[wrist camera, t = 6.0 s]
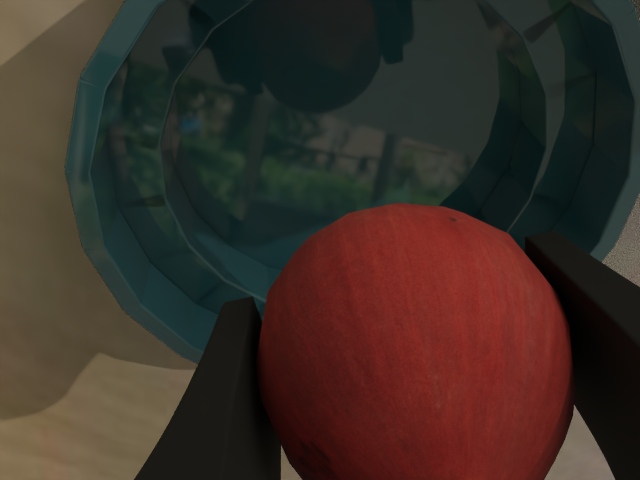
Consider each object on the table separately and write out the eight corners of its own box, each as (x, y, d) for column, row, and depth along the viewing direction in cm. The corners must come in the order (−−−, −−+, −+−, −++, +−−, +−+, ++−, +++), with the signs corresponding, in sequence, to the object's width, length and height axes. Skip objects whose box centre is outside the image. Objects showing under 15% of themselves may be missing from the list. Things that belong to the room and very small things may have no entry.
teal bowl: (652, -119, 15) (776, -100, 12) (506, 301, 24) (551, 385, 21) (57, -162, 13) (-12, -153, 10) (138, 309, 22) (117, 403, 19)
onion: (403, 347, 16) (502, 684, 10) (216, 286, 14) (192, 662, 8) (538, 191, 14) (792, 523, 7) (330, 87, 12) (432, 424, 5)
